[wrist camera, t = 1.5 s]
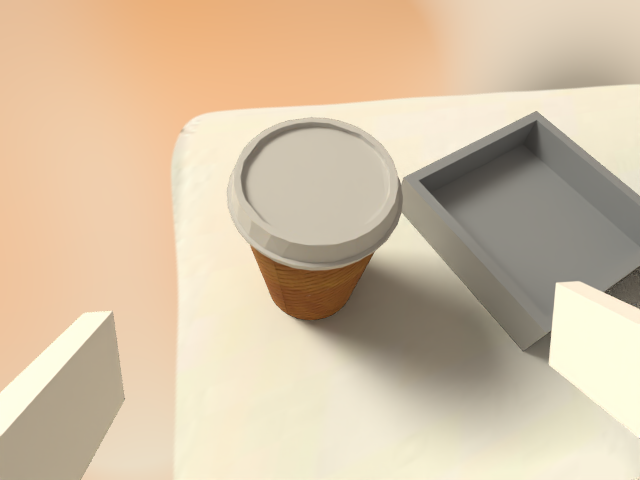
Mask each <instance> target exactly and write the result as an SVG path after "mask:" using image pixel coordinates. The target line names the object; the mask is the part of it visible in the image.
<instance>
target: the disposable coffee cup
mask: <svg viewBox="0 0 640 480" xmlns="http://www.w3.org/2000/svg"><path fill="white" fill-rule="evenodd" d="M227 201H228V209H229V212H230V215H231V218H232V221H233V222H234V224H235V226H236V228H237V230H238V232H239V233H240V234H241V235H242V236H243V237H244V239H245V240H246V241H247V242H248V243H249V244H250V246H251V249H252V251H253V253H254V256H255V258H256V261H257V263H258V265H259V268H260V271H261V273H262V275H263V278H264V280H265V282H266V285H267V287H268V290H269V293H270V295H271V297H272V299H273V301H274V302H275V304H276V305H277V306H278V307H279V308H280V309H281V310H282V311H284V312H285V313H287V314H288V315H291V316H293V317H296V318H299V319H304V320H317V319H322V318H326V317H328V316H331V315H333V314H334V313H336V312H337V311H339V310H340V309H341V308H342V307H343V306H344V305H345V304H346V302H347V301H348V299H349V297H350V295H351V293H352V291H353V290H354V288H355V286H356V284H357V282H358V281H359V279H360V277H361V276H362V274H363V272H364V270H365V268H366V266H367V265H368V263H369V261H370V259H371V257H372V256H373V254H374V252H375V251H376V250H377V249H378V248H379V247H380V246H381V245H382V244H383V243H385V242H386V241H387V240H388V238H389V236H390V235H391V233H392V232H393V230H394V229H395V227H396V226H397V224H398V221H399V218H400V215H401V212H402V204H403V194H402V188H401V183H400V180H399V178H398V176H397V171H396V168H395V165H394V162H393V160H392V158H391V157H390V155H389V153H388V152H387V150H386V149H385V148H384V147H383V146H382V144H381V143H379V142H378V141H377V140H376V139H375V138H374V137H372V136H371V135H370V134H368V133H367V132H365V131H363V130H362V129H360V128H358V127H356V126H353V125H351V124H348V123H345V122H342V121H339V120H334V119H328V118H313V117H310V118H303V119H295V120H288V121H285V122H282V123H279V124H276V125H274V126H272V127H270V128H268V129H266V130H264V131H262V132H261V133H260V134H258V135H257V136H256V137H255V138H253V139H252V140H251V141H250V142H249V143H248V144H247V146H246V147H245V148H244V149H243V151H242V152H241V154H240V156H239V157H238V160H237V163H236V165H235V167H234V169H233V171H232V173H231V176H230V179H229V183H228V187H227Z"/></svg>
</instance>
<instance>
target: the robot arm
mask: <svg viewBox="0 0 640 480" xmlns="http://www.w3.org/2000/svg"><path fill="white" fill-rule="evenodd" d="M549 365H550V366H551V367H552V368H553V369H555V370H556V371H557V372H558V373H559V374H561V375H562V376H563V377H564V378H566V379H567V380H568V381H569V382H571V383H572V384H573V385H574V386H575V387H577V388H578V389H579V390H580V391H582V392H583V393H584V394H585V395H587V396H588V397H589V398H590V399H591V400H593V401H594V402H595V403H596V404H598V405H599V406H600V407H601V408H603V409H604V410H605V411H606V412H607V413H609V414H610V415H611V416H612V417H614V418H615V419H616V420H617V421H618V422H620V423H621V424H622V425H623V426H625V427H626V428H627V429H628V430H630V431H631V432H632V433H633V434H634V435H636V436H637V437H638V438H639V439H640V309H638V308H636V307H634V306H632V305H630V304H627V303H625V302H623V301H621V300H619V299H617V298H615V297H612V296H610V295H608V294H606V293H604V292H602V291H599V290H597V289H595V288H593V287H591V286H589V285H587V284H584V283H582V282H580V281H574V282H558V283H556V288H555V299H554V310H553V321H552V333H551V344H550V355H549ZM124 400H125V398H124V390H123V383H122V375H121V368H120V361H119V353H118V346H117V338H116V331H115V324H114V316H113V311H103V312H89V313H84V314H82V315H81V316H80V317H79V318H78V319H77V320H76V321H75V322H74V323H73V324H72V325H71V326H70V327H69V328H68V329H67V330H66V331H65V332H63V333H62V334H61V335H60V336H59V337H58V338H57V339H56V340H55V341H54V342H53V343H52V344H51V345H50V346H49V347H48V348H47V349H46V350H45V351H43V352H42V353H41V354H40V356H38V357H37V358H36V359H35V360H34V361H33V362H32V363H31V364H30V365H29V366H28V367H27V368H26V369H25V370H24V371H23V372H21V374H20V375H18V376H17V377H16V378H15V379H14V380H13V381H12V382H11V383H10V384H9V385H8V386H7V387H6V388H5V389H4V390H3V391H2V392H0V480H81V478H82V477H83V475H84V473H85V471H86V469H87V468H88V466H89V464H90V462H91V460H92V458H93V457H94V455H95V453H96V451H97V449H98V448H99V446H100V444H101V442H102V440H103V438H104V436H105V435H106V433H107V431H108V429H109V427H110V426H111V424H112V422H113V420H114V418H115V417H116V415H117V413H118V411H119V409H120V407H121V406H122V404H123V402H124Z"/></svg>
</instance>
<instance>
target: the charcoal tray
mask: <svg viewBox="0 0 640 480" xmlns="http://www.w3.org/2000/svg"><path fill="white" fill-rule="evenodd" d="M401 188H402V194H403V204H402V213H403V214H404V215H405V216H406V218H407V219H408V220H409V221H410V222H411V223H412V224H413V226H414V227H415V228H416V229H417V230H418V231H419V232H420V234H421V235H422V236H423V237H424V238H425V239H426V240H427V242H428V243H429V244H430V245H431V246H432V247H433V248H434V250H435V251H436V252H437V253H438V254H439V255H440V256H441V258H442V259H443V260H444V261H445V262H446V263H447V264H448V266H449V267H450V268H451V269H452V270H453V271H454V272H455V274H456V275H457V276H458V277H459V278H460V279H461V280H462V282H463V283H464V284H465V285H466V286H467V287H468V289H469V290H470V291H471V292H472V293H473V294H474V295H475V297H476V298H477V299H478V300H479V301H480V302H481V303H482V305H483V306H484V307H485V308H486V309H487V310H488V311H489V313H490V314H491V315H492V316H493V317H494V318H495V319H496V321H497V322H498V323H499V324H500V325H501V326H502V327H503V329H504V330H505V331H506V332H507V333H508V334H509V335H510V337H511V338H512V339H513V340H514V341H515V342H516V343H517V345H518V346H519V347H520V348H521V349H522V350H523V351H525V350H526V349H527V348H529V347H530V346H531V345H533V344H534V343H536V342H537V341H538V340H540V339H541V338H542V337H544V336H545V335H546V334H548V333H549V332H551V331H552V321H553V310H554V299H555V288H556V283H558V282H574V281H580V282H582V283H584V284H587V285H589V286H591V287H593V288H595V289H597V290H599V291H602V292H605V291H607V290H608V289H610V288H611V287H612V286H614V285H615V284H616V283H618V282H619V281H621V280H622V279H623V278H625V277H626V276H627V275H629V274H630V273H632V272H633V271H634V270H636V269H637V268H638V267H640V196H639V195H638V194H637V193H635V192H634V191H633V190H632V189H631V188H629V187H628V186H627V185H626V184H624V183H623V182H622V181H621V180H620V179H618V178H617V177H616V176H615V175H614V174H612V173H611V172H610V171H609V170H607V169H606V168H605V167H604V166H603V165H601V164H600V163H599V162H598V161H597V160H595V159H594V158H593V157H592V156H590V155H589V154H588V153H587V152H586V151H584V150H583V149H582V148H581V147H580V146H578V145H577V144H576V143H575V142H573V141H572V140H571V139H570V138H569V137H567V136H566V135H565V134H564V133H563V132H561V131H560V130H559V129H558V128H557V127H555V126H554V125H553V124H552V123H550V122H549V121H548V120H547V119H546V118H544V117H543V116H542V115H541V114H540V113H538V112H537V111H536V112H534V113H532V114H530V115H528V116H526V117H524V118H522V119H520V120H518V121H516V122H514V123H512V124H510V125H508V126H506V127H504V128H502V129H500V130H498V131H496V132H494V133H492V134H490V135H488V136H486V137H484V138H482V139H480V140H478V141H476V142H474V143H472V144H470V145H468V146H466V147H464V148H462V149H460V150H458V151H456V152H454V153H452V154H450V155H448V156H446V157H444V158H442V159H440V160H438V161H436V162H434V163H432V164H430V165H428V166H426V167H424V168H422V169H420V170H418V171H416V172H414V173H412V174H410V175H408V176H406V177H404V178H403V182H402V185H401Z"/></svg>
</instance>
